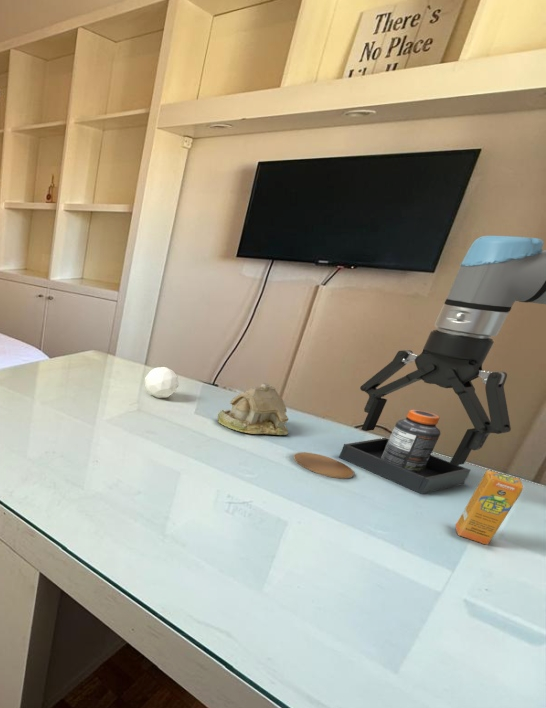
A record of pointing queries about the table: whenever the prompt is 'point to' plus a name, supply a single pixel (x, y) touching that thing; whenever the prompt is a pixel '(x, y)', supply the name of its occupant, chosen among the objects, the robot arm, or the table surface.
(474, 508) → the supplement box
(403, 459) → the pill bottle
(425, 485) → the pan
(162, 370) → the geometric ball
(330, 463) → the coaster
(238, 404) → the ceramic model
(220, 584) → the table surface
